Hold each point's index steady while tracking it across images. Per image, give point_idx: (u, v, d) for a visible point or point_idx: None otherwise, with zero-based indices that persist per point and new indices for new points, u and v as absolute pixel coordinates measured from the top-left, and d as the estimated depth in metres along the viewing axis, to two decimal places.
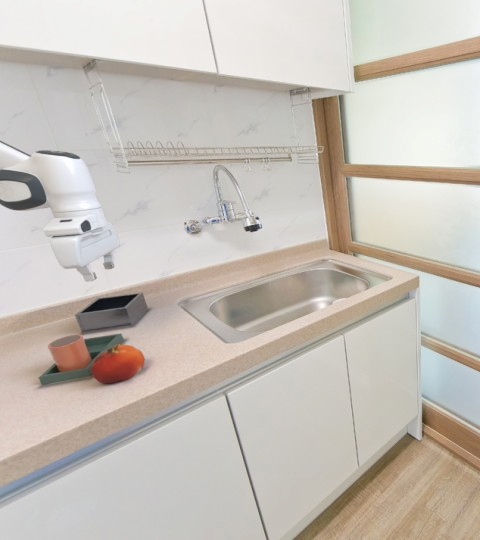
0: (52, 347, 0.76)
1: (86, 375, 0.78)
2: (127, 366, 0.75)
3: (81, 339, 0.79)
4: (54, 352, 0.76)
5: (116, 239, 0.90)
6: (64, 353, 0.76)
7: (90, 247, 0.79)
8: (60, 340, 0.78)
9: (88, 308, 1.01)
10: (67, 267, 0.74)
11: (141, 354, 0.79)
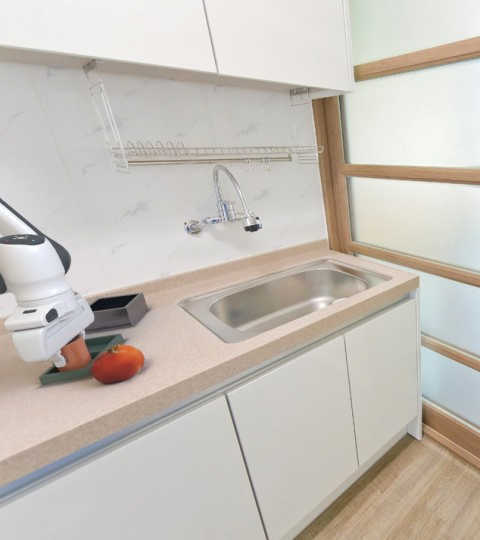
0: None
1: (86, 375, 0.78)
2: (127, 366, 0.75)
3: (81, 339, 0.79)
4: None
5: (90, 314, 0.85)
6: (64, 353, 0.76)
7: (57, 335, 0.74)
8: None
9: None
10: (31, 362, 0.69)
11: (141, 354, 0.79)
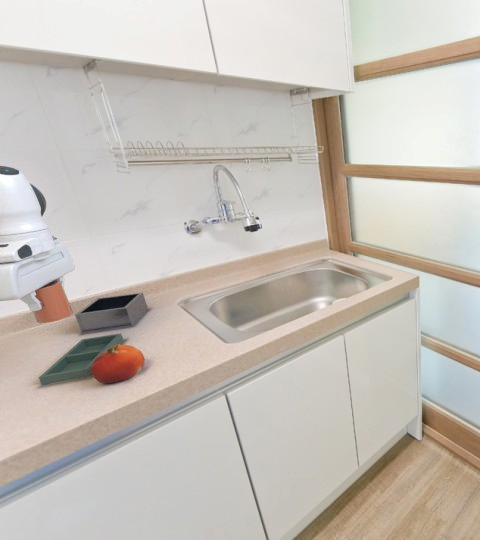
0: None
1: (86, 375, 0.78)
2: (127, 366, 0.75)
3: (59, 284, 0.75)
4: None
5: (70, 261, 0.81)
6: (39, 297, 0.72)
7: (32, 275, 0.69)
8: None
9: (88, 308, 1.01)
10: (1, 299, 0.65)
11: (141, 354, 0.79)
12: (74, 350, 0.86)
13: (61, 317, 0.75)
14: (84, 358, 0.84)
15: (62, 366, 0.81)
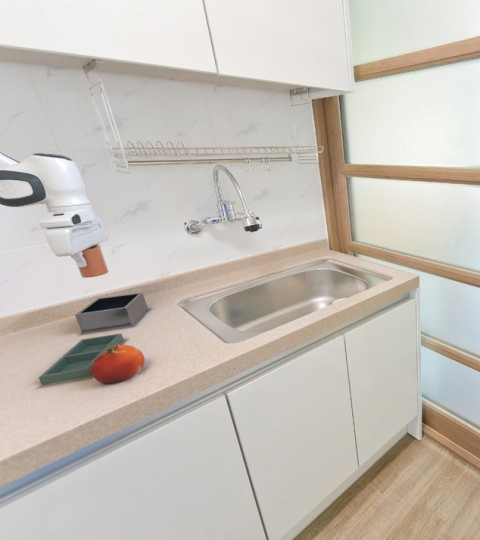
0: None
1: (86, 375, 0.78)
2: (127, 366, 0.75)
3: (98, 247, 0.95)
4: None
5: (105, 232, 1.01)
6: (85, 257, 0.93)
7: (80, 238, 0.90)
8: None
9: (88, 308, 1.01)
10: (59, 255, 0.85)
11: (141, 354, 0.79)
12: (74, 350, 0.86)
13: (100, 274, 0.96)
14: (84, 358, 0.84)
15: (62, 366, 0.81)
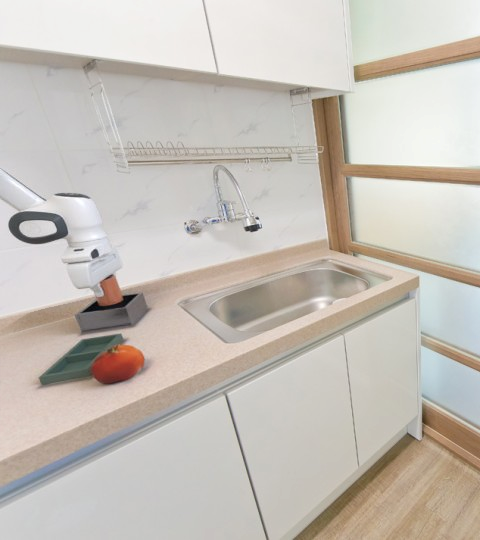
0: None
1: (86, 375, 0.78)
2: (127, 366, 0.75)
3: (114, 277, 1.02)
4: None
5: (119, 261, 1.08)
6: (102, 287, 0.99)
7: (98, 270, 0.96)
8: None
9: (88, 308, 1.01)
10: (80, 288, 0.91)
11: (141, 354, 0.79)
12: (74, 350, 0.86)
13: (116, 302, 1.02)
14: (84, 358, 0.84)
15: (62, 366, 0.81)
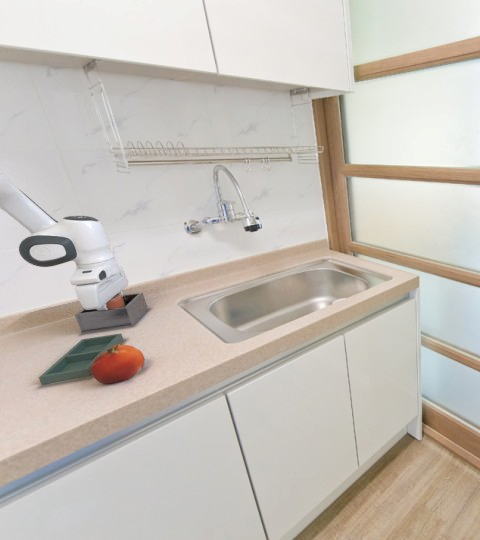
0: None
1: (86, 375, 0.78)
2: (127, 366, 0.75)
3: (121, 296, 1.04)
4: None
5: (125, 279, 1.10)
6: (109, 306, 1.01)
7: (105, 291, 0.98)
8: None
9: None
10: (88, 309, 0.93)
11: (141, 354, 0.79)
12: (74, 350, 0.86)
13: None
14: (84, 358, 0.84)
15: (62, 366, 0.81)
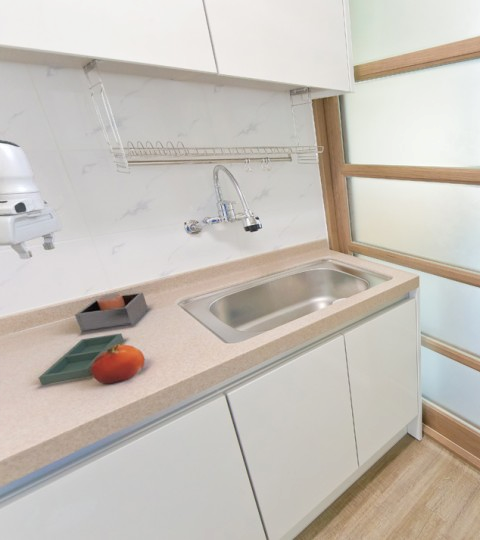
0: (100, 300, 1.00)
1: (86, 375, 0.78)
2: (127, 366, 0.75)
3: (121, 296, 1.04)
4: (101, 304, 1.00)
5: (57, 222, 0.98)
6: (109, 306, 1.01)
7: (25, 228, 0.86)
8: (105, 296, 1.03)
9: (88, 308, 1.01)
10: (0, 244, 0.82)
11: (141, 354, 0.79)
12: (74, 350, 0.86)
13: None
14: (84, 358, 0.84)
15: (62, 366, 0.81)
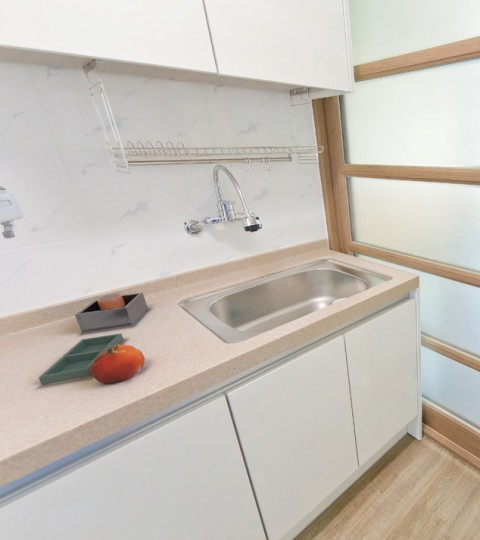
0: (100, 300, 1.00)
1: (86, 375, 0.78)
2: (127, 366, 0.75)
3: (121, 296, 1.04)
4: (101, 304, 1.00)
5: (17, 210, 0.94)
6: (109, 306, 1.01)
7: None
8: (105, 296, 1.03)
9: (88, 308, 1.01)
10: None
11: (141, 354, 0.79)
12: (74, 350, 0.86)
13: None
14: (84, 358, 0.84)
15: (62, 366, 0.81)
